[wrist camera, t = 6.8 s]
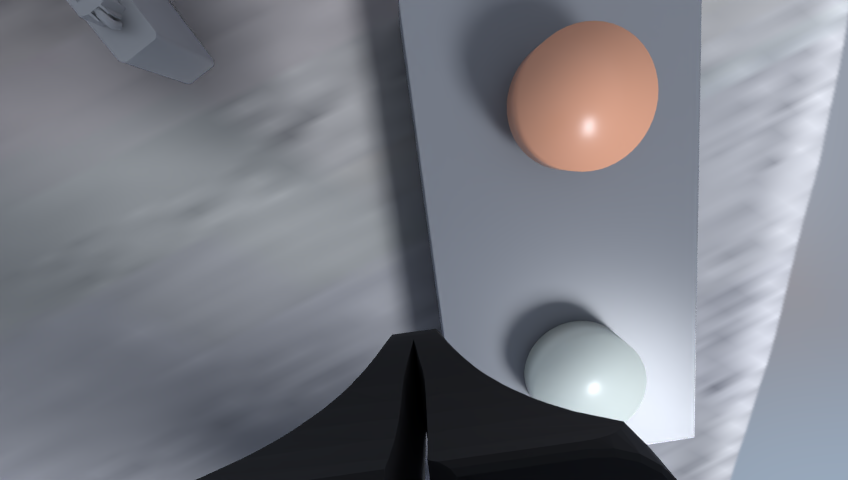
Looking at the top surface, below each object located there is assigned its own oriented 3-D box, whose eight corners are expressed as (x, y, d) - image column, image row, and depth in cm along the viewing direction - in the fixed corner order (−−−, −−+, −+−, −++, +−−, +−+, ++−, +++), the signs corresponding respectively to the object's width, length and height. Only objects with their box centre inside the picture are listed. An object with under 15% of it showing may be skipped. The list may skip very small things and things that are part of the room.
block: (657, 401, 23) (694, 437, 20) (455, 432, 23) (462, 473, 20) (654, -13, 18) (702, -46, 15) (399, 20, 18) (398, -6, 15)
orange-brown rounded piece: (600, 160, 18) (658, 161, 14) (496, 175, 18) (523, 180, 14) (596, 46, 17) (658, 11, 13) (485, 61, 17) (511, 30, 13)
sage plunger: (600, 376, 22) (647, 428, 18) (512, 389, 22) (538, 445, 18) (596, 292, 21) (645, 327, 17) (504, 306, 21) (530, 344, 16)
